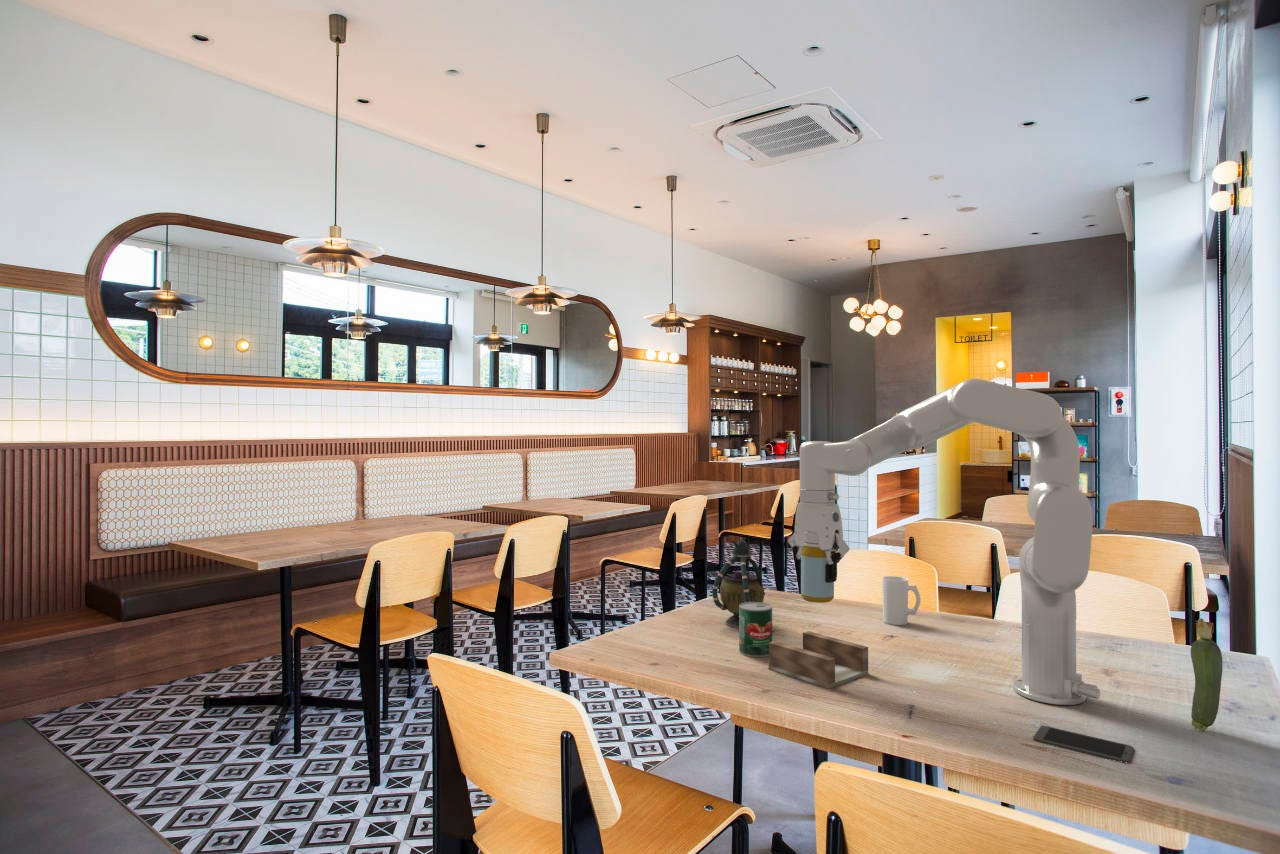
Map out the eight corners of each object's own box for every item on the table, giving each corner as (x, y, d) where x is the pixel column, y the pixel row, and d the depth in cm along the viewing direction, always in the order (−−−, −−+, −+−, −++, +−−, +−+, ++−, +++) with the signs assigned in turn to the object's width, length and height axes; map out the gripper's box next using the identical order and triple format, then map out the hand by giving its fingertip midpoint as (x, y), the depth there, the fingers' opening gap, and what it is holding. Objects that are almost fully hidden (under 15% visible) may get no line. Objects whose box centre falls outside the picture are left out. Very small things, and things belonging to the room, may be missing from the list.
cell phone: (1041, 728, 129) (1041, 724, 129) (1135, 750, 120) (1135, 746, 120) (1031, 742, 123) (1031, 738, 123) (1129, 766, 114) (1129, 762, 114)
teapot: (708, 629, 192) (708, 541, 192) (742, 608, 214) (742, 529, 214) (751, 635, 186) (751, 545, 186) (782, 613, 208) (781, 532, 208)
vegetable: (1208, 726, 128) (1208, 614, 128) (1229, 736, 124) (1229, 620, 124) (1184, 726, 128) (1184, 614, 128) (1204, 737, 124) (1204, 621, 124)
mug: (878, 623, 197) (878, 579, 197) (887, 617, 202) (886, 575, 202) (916, 629, 191) (916, 583, 191) (924, 623, 196) (923, 579, 196)
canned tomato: (757, 659, 167) (757, 611, 167) (732, 651, 173) (731, 605, 173) (779, 652, 172) (779, 606, 172) (754, 644, 178) (754, 600, 178)
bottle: (831, 595, 162) (831, 529, 161) (836, 603, 155) (836, 533, 154) (799, 595, 162) (799, 528, 162) (803, 602, 155) (803, 533, 155)
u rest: (868, 673, 157) (868, 646, 157) (829, 688, 148) (829, 660, 148) (808, 655, 169) (808, 631, 169) (768, 668, 160) (768, 642, 160)
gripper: (861, 499, 154) (861, 583, 154) (796, 493, 167) (796, 571, 167) (840, 501, 149) (841, 588, 149) (775, 495, 163) (775, 575, 163)
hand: (817, 578), depth 158 cm, fingers closed on bottle, 6 cm apart
